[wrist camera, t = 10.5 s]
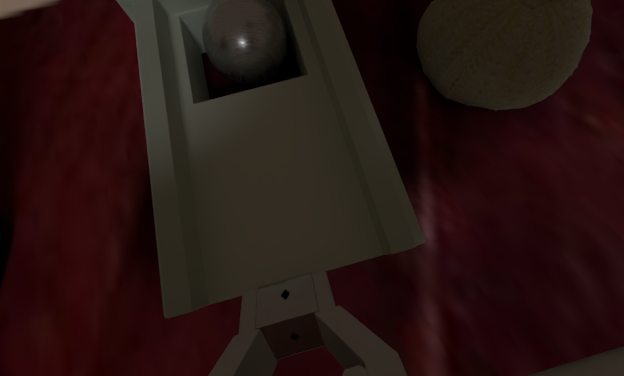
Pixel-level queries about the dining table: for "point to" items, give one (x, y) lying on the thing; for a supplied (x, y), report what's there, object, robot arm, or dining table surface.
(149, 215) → the dining table surface
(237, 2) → the ball
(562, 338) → the dining table surface
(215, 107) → the tray
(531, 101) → the sea urchin shell
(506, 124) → the dining table surface
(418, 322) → the dining table surface
